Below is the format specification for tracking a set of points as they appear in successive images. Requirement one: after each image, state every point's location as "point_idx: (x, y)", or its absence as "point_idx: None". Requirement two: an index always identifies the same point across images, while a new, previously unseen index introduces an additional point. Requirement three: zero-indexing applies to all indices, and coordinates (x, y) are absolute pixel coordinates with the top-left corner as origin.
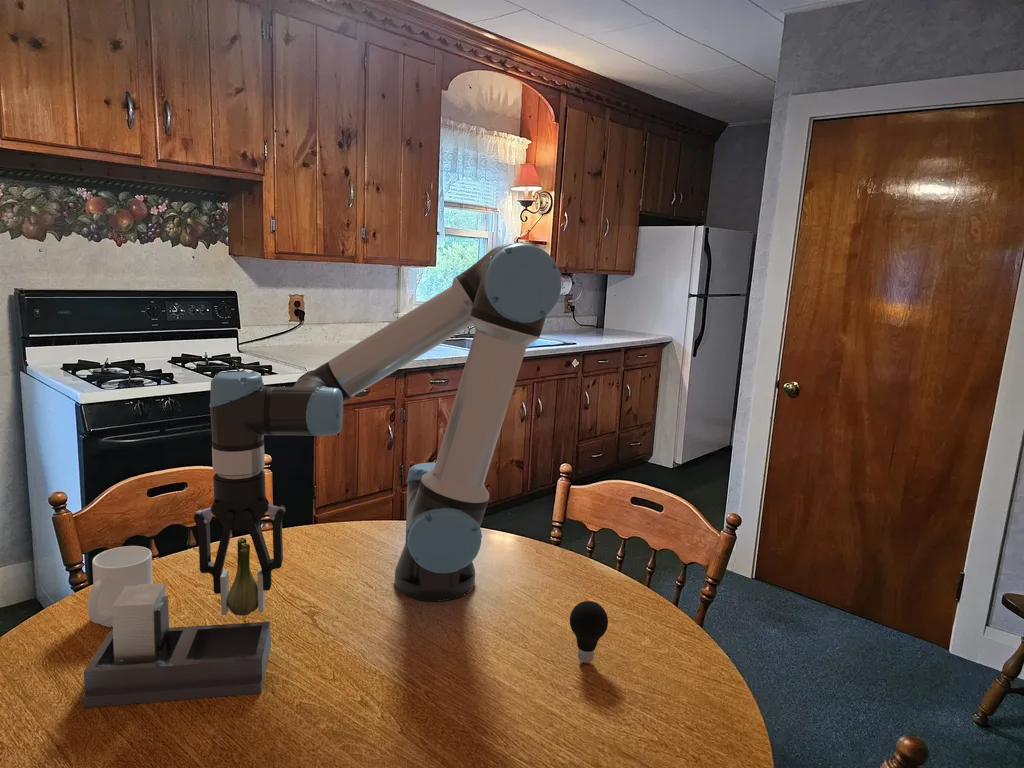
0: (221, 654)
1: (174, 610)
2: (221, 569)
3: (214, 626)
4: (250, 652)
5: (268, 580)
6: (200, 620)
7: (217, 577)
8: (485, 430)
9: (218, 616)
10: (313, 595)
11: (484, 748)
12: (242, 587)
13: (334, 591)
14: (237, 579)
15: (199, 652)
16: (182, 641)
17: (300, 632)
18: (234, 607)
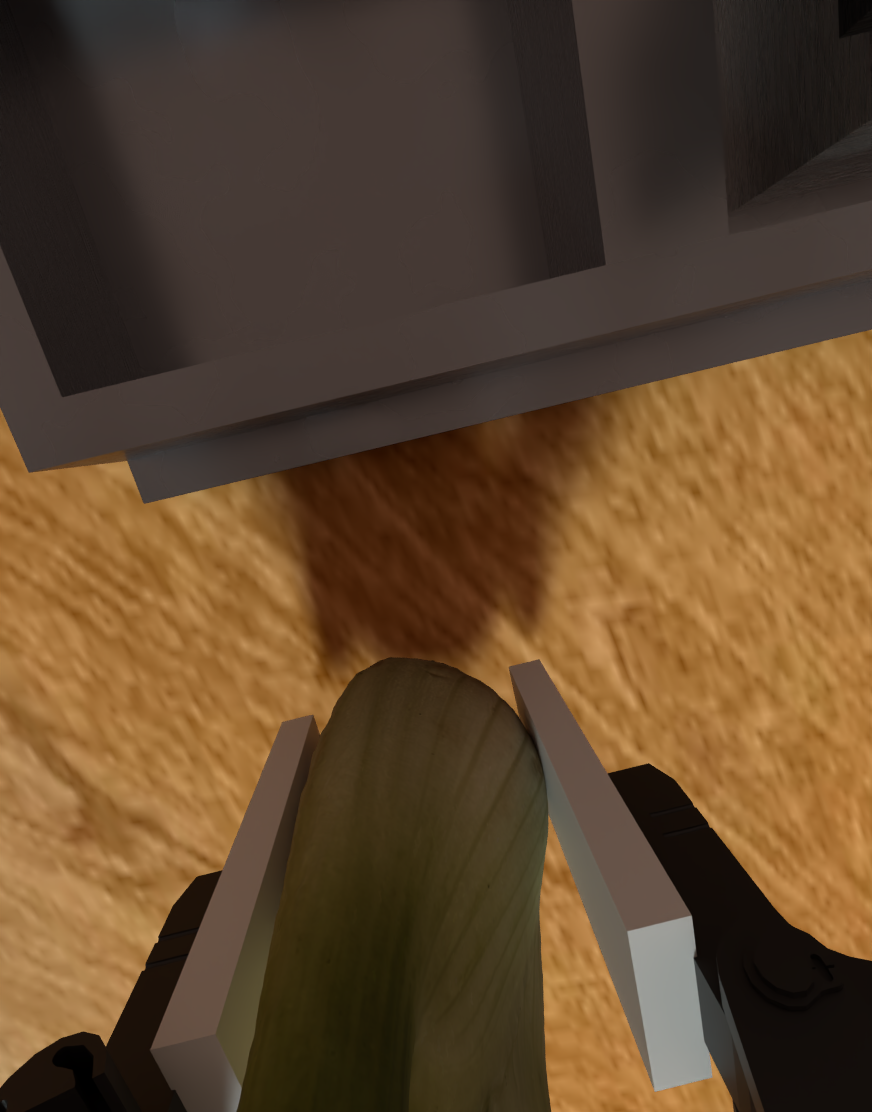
0: (369, 240)
1: (821, 758)
2: (743, 1058)
3: (480, 333)
4: (182, 284)
5: (157, 976)
6: (661, 688)
7: (722, 917)
8: None
9: None
10: None
11: None
12: (361, 797)
13: (90, 1019)
14: (466, 920)
15: (525, 249)
16: (672, 9)
17: (71, 641)
18: (451, 680)
